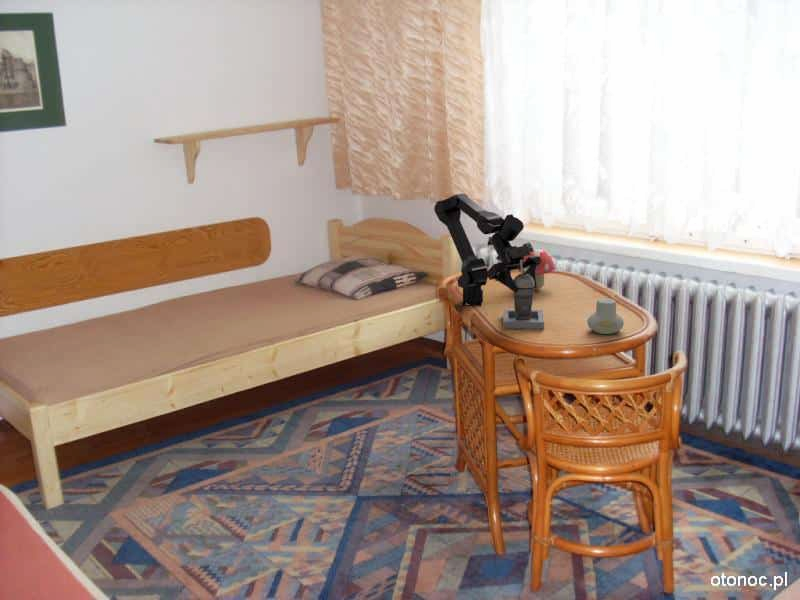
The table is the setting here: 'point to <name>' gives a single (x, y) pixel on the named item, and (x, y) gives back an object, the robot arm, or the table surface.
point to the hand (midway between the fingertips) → (526, 290)
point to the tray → (533, 323)
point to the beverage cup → (523, 295)
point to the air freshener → (605, 317)
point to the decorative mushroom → (541, 266)
